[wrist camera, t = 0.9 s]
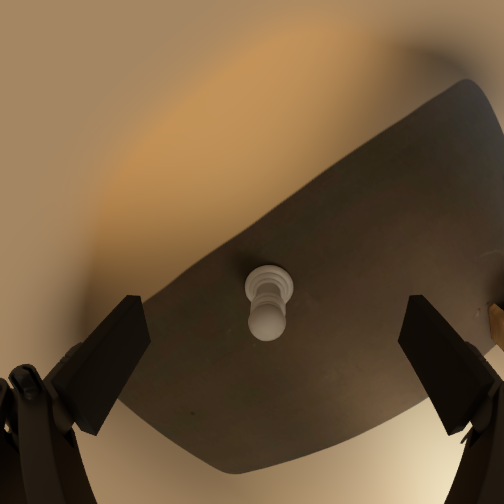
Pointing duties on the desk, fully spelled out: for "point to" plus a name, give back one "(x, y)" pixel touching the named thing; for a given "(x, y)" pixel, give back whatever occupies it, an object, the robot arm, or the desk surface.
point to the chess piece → (268, 301)
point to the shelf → (497, 324)
